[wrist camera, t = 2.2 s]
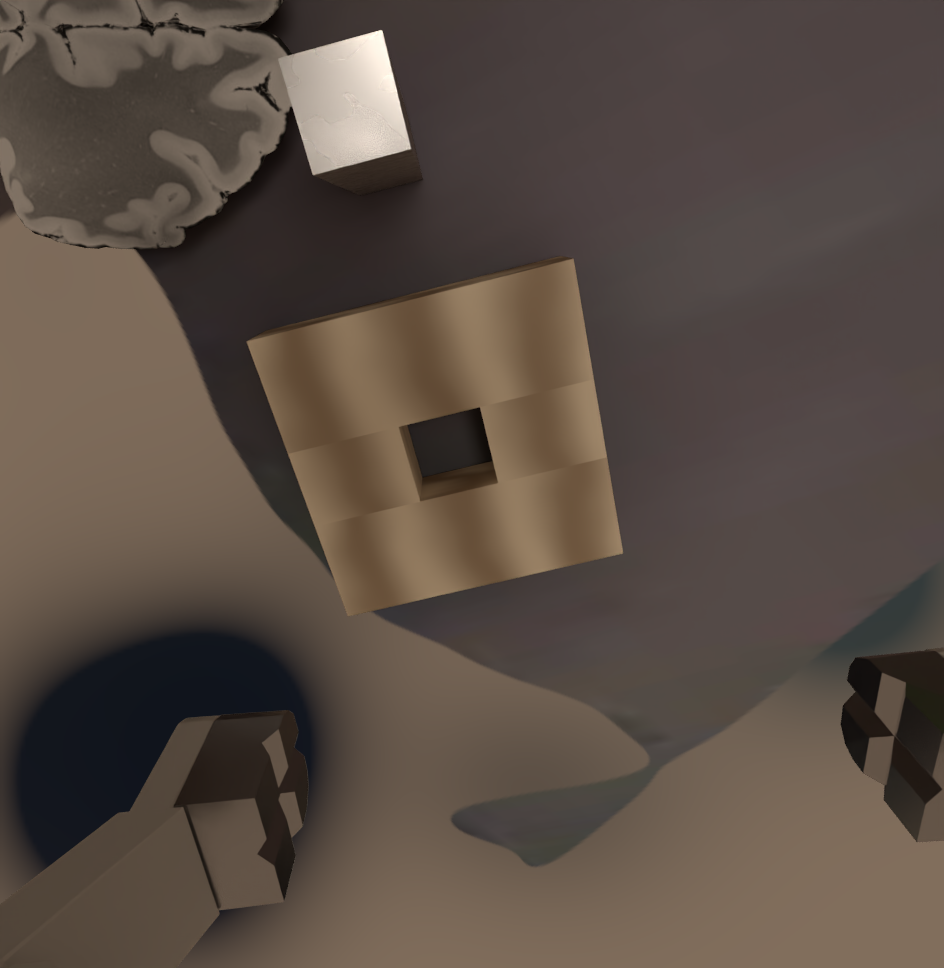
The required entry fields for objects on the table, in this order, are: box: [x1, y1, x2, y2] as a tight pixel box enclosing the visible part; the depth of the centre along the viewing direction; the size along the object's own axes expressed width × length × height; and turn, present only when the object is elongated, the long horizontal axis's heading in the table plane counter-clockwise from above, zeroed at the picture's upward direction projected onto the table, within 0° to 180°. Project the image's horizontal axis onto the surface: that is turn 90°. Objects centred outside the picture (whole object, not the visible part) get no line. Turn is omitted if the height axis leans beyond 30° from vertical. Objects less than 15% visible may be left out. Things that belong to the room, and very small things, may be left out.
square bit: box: [278, 30, 423, 196], centre depth 28 cm, size 4×4×14 cm
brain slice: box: [0, 0, 293, 249], centre depth 31 cm, size 20×17×3 cm
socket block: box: [247, 256, 623, 616], centre depth 39 cm, size 18×18×4 cm
